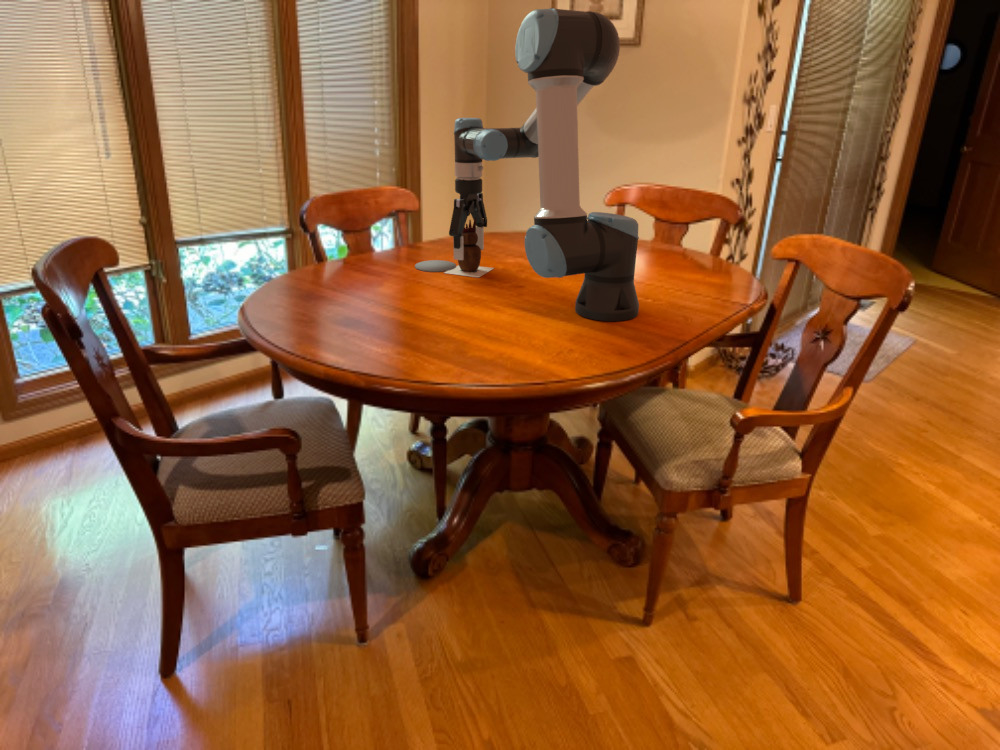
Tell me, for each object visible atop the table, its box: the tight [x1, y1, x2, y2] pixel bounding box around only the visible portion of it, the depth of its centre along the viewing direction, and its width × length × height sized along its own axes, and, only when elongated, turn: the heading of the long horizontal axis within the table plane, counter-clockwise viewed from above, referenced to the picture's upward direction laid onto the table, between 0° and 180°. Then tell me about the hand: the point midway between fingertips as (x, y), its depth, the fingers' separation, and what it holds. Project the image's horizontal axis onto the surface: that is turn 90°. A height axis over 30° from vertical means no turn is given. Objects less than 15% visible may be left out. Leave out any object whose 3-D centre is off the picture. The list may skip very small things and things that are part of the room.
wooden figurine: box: [457, 218, 482, 272], centre depth 195 cm, size 7×6×15 cm
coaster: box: [414, 259, 457, 273], centre depth 202 cm, size 12×12×1 cm
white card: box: [443, 264, 495, 278], centre depth 198 cm, size 11×11×1 cm
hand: (469, 254), depth 196 cm, fingers open, 13 cm apart
